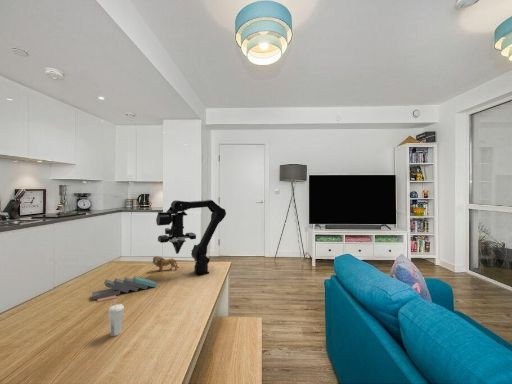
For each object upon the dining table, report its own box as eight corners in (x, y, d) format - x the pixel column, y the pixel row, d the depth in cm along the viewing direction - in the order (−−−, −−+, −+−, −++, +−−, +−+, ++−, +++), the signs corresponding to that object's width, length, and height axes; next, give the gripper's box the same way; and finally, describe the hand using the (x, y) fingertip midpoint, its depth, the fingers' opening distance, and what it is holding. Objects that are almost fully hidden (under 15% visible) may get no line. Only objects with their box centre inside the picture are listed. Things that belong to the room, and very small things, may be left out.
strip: (113, 290, 115) (113, 289, 115) (116, 298, 107) (116, 297, 107) (95, 294, 111) (95, 293, 111) (97, 302, 103) (97, 301, 103)
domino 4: (145, 282, 121) (125, 277, 116) (148, 286, 117) (127, 280, 112) (143, 286, 121) (123, 280, 115) (146, 289, 117) (125, 283, 111)
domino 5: (154, 281, 124) (134, 276, 118) (157, 284, 120) (136, 279, 114) (152, 284, 123) (132, 279, 118) (155, 287, 119) (135, 282, 114)
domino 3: (136, 284, 119) (115, 278, 114) (138, 288, 115) (117, 281, 109) (134, 288, 118) (113, 281, 113) (136, 291, 114) (115, 285, 109)
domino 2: (127, 285, 116) (106, 279, 111) (129, 289, 112) (107, 282, 107) (125, 289, 116) (103, 282, 111) (127, 292, 112) (105, 286, 107)
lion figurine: (153, 273, 138) (153, 257, 138) (151, 271, 143) (152, 255, 143) (180, 270, 146) (180, 254, 146) (178, 267, 150) (178, 252, 150)
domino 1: (118, 286, 114) (92, 292, 108) (120, 290, 110) (93, 296, 104) (118, 290, 114) (92, 295, 108) (120, 294, 110) (93, 299, 104)
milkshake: (119, 327, 85) (119, 297, 85) (126, 332, 82) (126, 302, 81) (104, 332, 81) (104, 302, 81) (111, 339, 78) (111, 307, 78)
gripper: (188, 221, 144) (188, 248, 144) (154, 223, 133) (154, 252, 133) (196, 223, 135) (196, 252, 135) (161, 226, 124) (160, 257, 124)
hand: (177, 253), depth 132 cm, fingers closed
